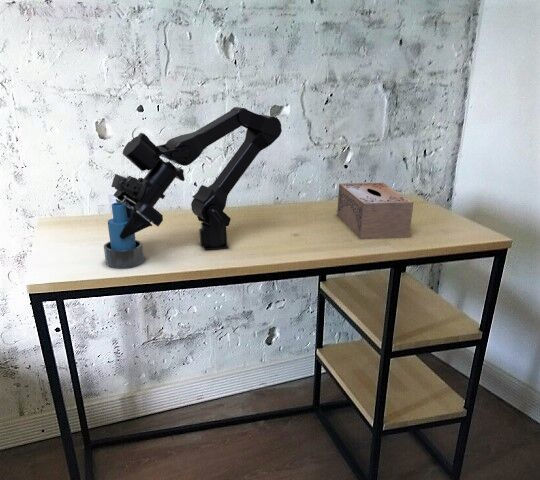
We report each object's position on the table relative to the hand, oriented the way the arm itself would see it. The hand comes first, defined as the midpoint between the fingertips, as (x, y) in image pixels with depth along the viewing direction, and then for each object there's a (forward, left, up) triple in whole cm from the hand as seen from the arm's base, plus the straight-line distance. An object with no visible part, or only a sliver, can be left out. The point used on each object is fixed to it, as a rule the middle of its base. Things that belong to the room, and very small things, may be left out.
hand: (116, 234), depth 135 cm
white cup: (-3, -29, -7) cm, 30 cm away
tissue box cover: (-75, -15, -7) cm, 77 cm away
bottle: (-1, 0, -7) cm, 7 cm away
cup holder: (-1, 0, -7) cm, 7 cm away
